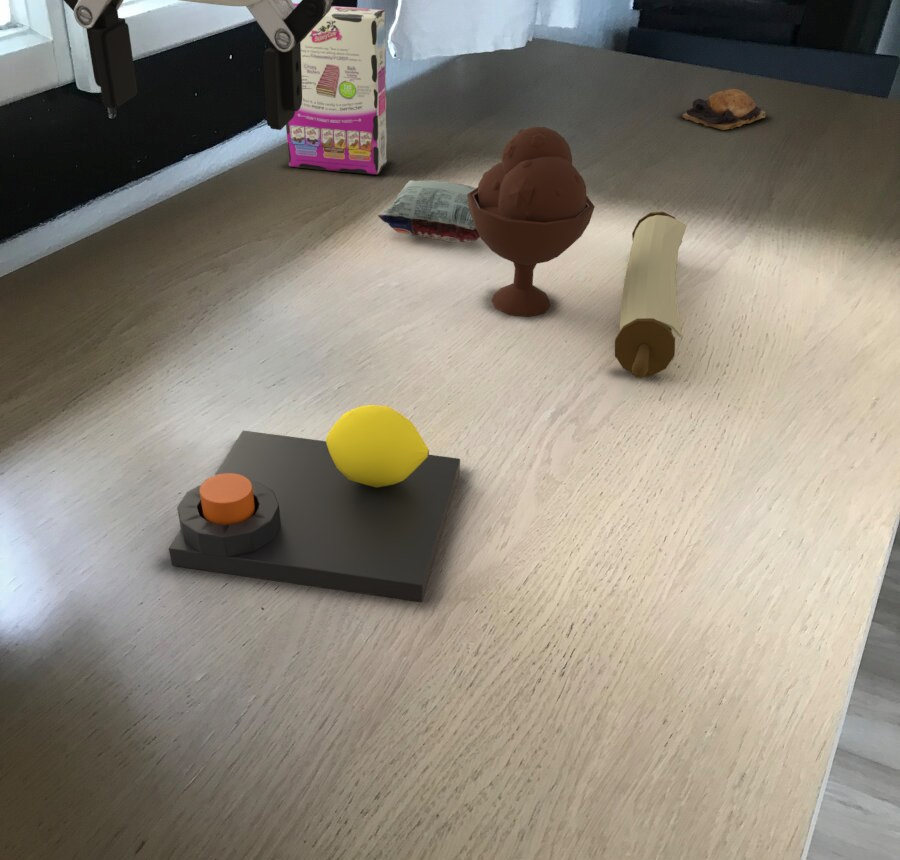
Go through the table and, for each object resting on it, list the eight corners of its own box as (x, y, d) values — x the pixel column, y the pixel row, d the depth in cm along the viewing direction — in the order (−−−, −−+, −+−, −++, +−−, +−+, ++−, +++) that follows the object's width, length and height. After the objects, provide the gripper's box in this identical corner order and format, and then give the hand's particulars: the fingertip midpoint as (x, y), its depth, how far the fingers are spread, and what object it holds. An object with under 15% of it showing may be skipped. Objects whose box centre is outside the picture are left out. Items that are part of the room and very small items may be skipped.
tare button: (195, 522, 61) (191, 499, 59) (213, 492, 63) (210, 469, 62) (245, 529, 60) (242, 506, 59) (261, 499, 63) (259, 476, 61)
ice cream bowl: (442, 290, 93) (448, 120, 83) (542, 271, 97) (559, 108, 87) (496, 338, 86) (510, 159, 76) (602, 316, 90) (628, 144, 80)
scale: (170, 566, 61) (163, 528, 59) (243, 446, 72) (239, 410, 70) (421, 602, 60) (422, 565, 58) (459, 474, 70) (461, 438, 68)
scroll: (631, 243, 103) (639, 195, 100) (684, 250, 102) (694, 201, 99) (601, 393, 80) (610, 336, 76) (670, 403, 79) (682, 346, 76)
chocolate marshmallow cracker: (721, 105, 144) (727, 77, 141) (770, 119, 139) (776, 91, 137) (676, 116, 138) (681, 88, 136) (724, 132, 134) (731, 102, 131)
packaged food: (406, 209, 108) (406, 163, 104) (509, 227, 105) (513, 180, 102) (376, 239, 102) (375, 190, 98) (485, 258, 99) (488, 209, 96)
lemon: (315, 494, 65) (311, 424, 62) (339, 451, 69) (336, 383, 66) (418, 510, 64) (419, 440, 61) (435, 465, 68) (438, 397, 65)
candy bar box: (388, 163, 119) (387, 8, 108) (378, 176, 115) (377, 17, 104) (299, 154, 120) (289, -1, 109) (286, 167, 117) (275, 9, 106)
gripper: (364, -271, 47) (362, 112, 59) (24, -301, 49) (87, 77, 60) (321, -271, 42) (329, 151, 53) (-61, -305, 43) (27, 112, 55)
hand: (200, 112), depth 57 cm, fingers open, 9 cm apart
